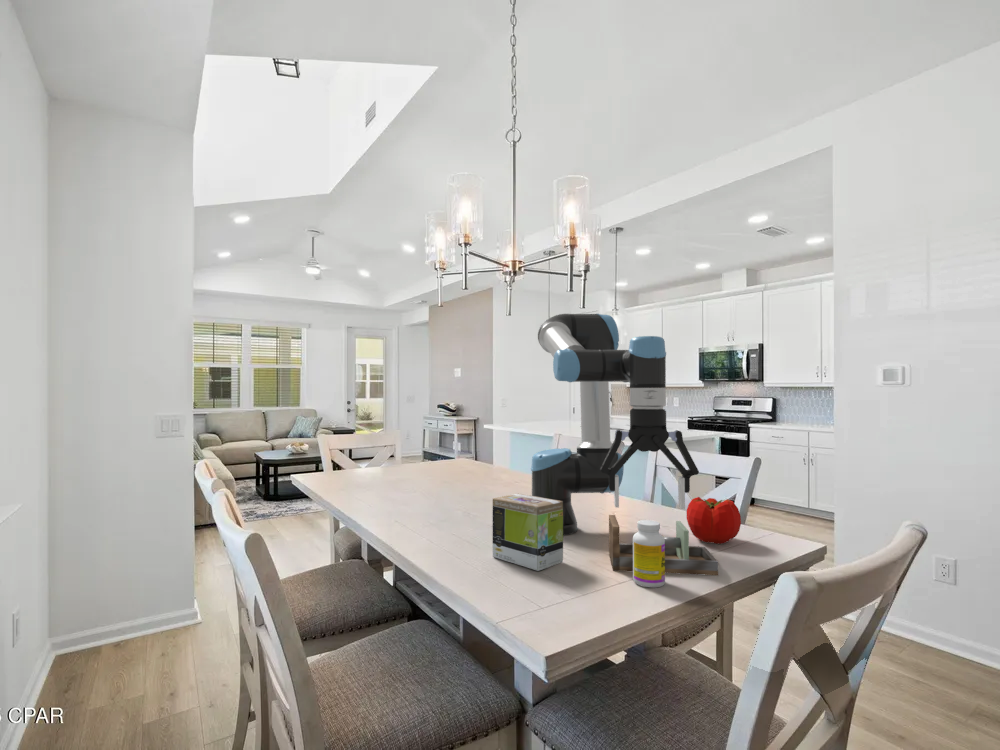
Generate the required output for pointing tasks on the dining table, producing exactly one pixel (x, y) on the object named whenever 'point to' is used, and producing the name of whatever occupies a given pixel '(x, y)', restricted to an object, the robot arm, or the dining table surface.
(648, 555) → the supplement bottle
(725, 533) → the tomato
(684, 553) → the pusher
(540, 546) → the tea box
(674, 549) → the lane
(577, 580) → the dining table surface
